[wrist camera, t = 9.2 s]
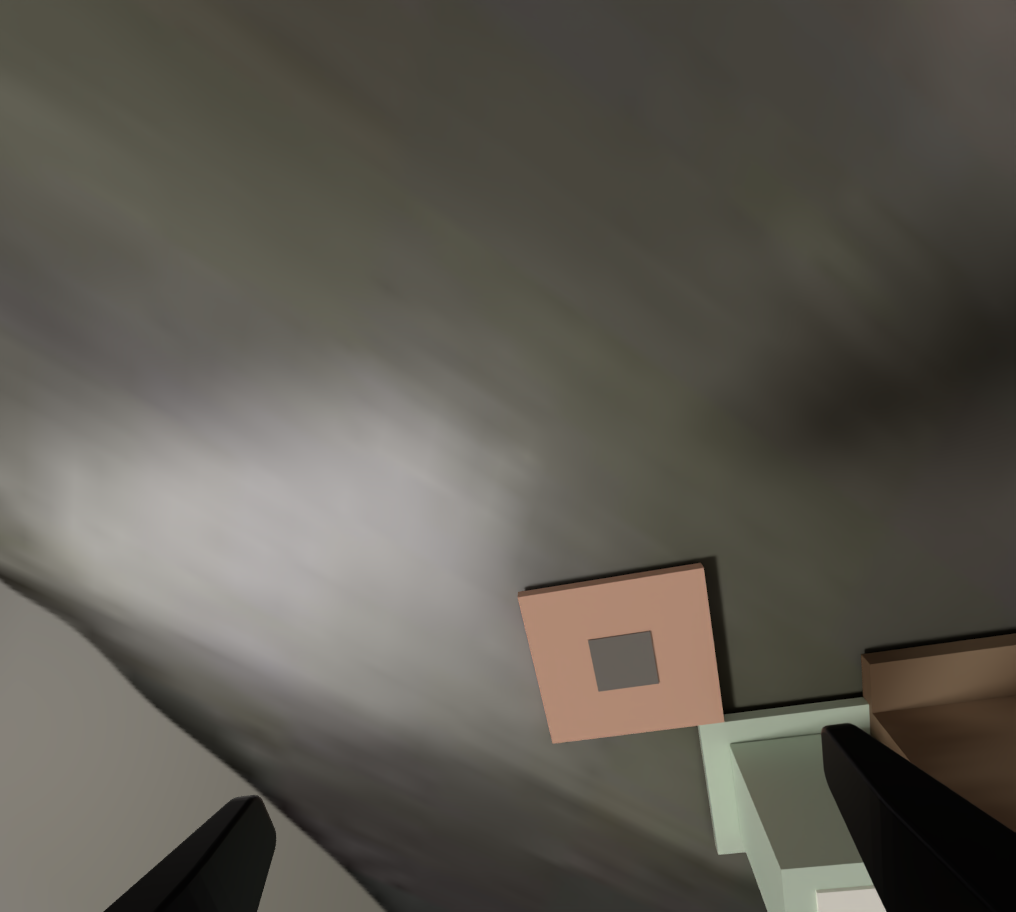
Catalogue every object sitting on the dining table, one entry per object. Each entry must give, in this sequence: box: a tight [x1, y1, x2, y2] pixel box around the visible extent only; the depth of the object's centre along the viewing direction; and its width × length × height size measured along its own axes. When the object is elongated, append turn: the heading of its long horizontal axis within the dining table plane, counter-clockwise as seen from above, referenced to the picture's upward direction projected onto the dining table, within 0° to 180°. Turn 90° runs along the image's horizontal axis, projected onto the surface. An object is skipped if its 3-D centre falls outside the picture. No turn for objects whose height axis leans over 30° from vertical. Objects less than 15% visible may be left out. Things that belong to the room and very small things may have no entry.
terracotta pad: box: [518, 563, 724, 744], centre depth 21 cm, size 7×7×1 cm
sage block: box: [729, 734, 886, 912], centre depth 20 cm, size 5×5×5 cm
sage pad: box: [698, 697, 870, 855], centre depth 22 cm, size 7×7×1 cm
